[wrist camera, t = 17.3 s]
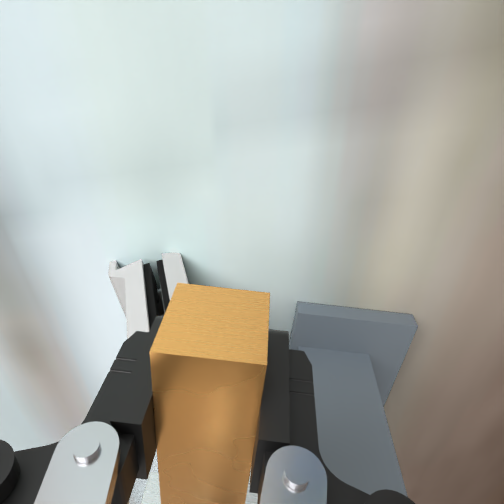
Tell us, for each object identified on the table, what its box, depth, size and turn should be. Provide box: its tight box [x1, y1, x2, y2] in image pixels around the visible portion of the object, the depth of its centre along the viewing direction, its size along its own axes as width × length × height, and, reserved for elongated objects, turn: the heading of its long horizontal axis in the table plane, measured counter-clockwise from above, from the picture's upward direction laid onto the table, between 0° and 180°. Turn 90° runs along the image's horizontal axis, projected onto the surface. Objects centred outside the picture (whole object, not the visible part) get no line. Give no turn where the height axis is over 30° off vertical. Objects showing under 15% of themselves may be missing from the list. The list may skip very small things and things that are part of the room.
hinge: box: [108, 253, 189, 339], centre depth 25 cm, size 17×5×10 cm, turn 8°
